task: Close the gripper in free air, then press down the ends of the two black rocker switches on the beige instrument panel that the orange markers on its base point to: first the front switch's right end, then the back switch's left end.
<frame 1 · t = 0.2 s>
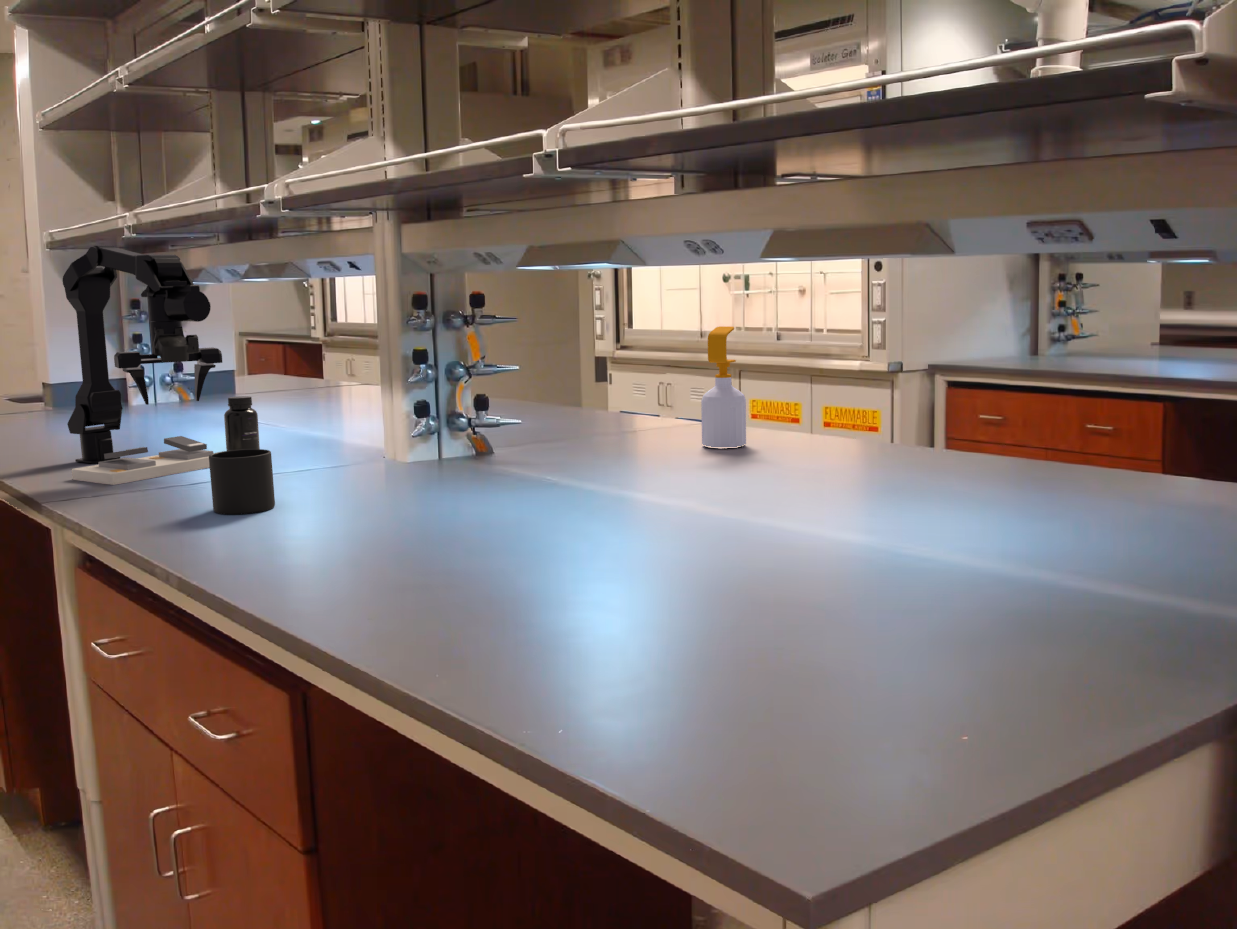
hand: (172, 402, 218), 13 cm above the counter, tool pointing down, fingers open, 9 cm apart
rocker A: (125, 452, 215), point 5 cm above the counter, hinge at -9.0°
soap bottle: (724, 447, 234), on the counter
mug: (244, 509, 182), on the counter
switch panel: (158, 471, 221), on the counter
rocker B: (185, 443, 225), point 5 cm above the counter, hinge at 9.0°
supplement bottle: (243, 453, 242), on the counter
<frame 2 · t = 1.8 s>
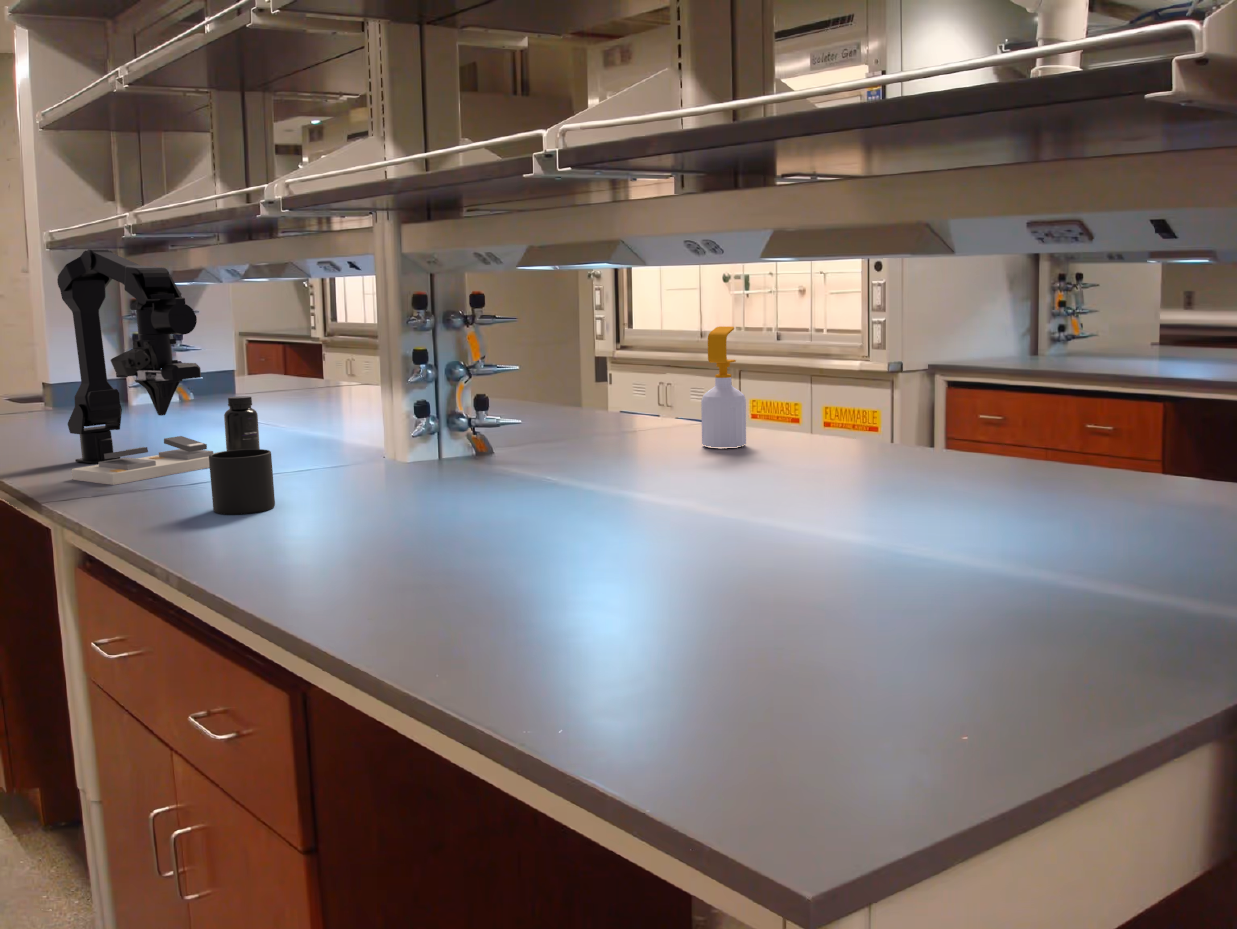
hand: (161, 415, 218), 11 cm above the counter, tool pointing down, fingers closed
nothing on the counter moved.
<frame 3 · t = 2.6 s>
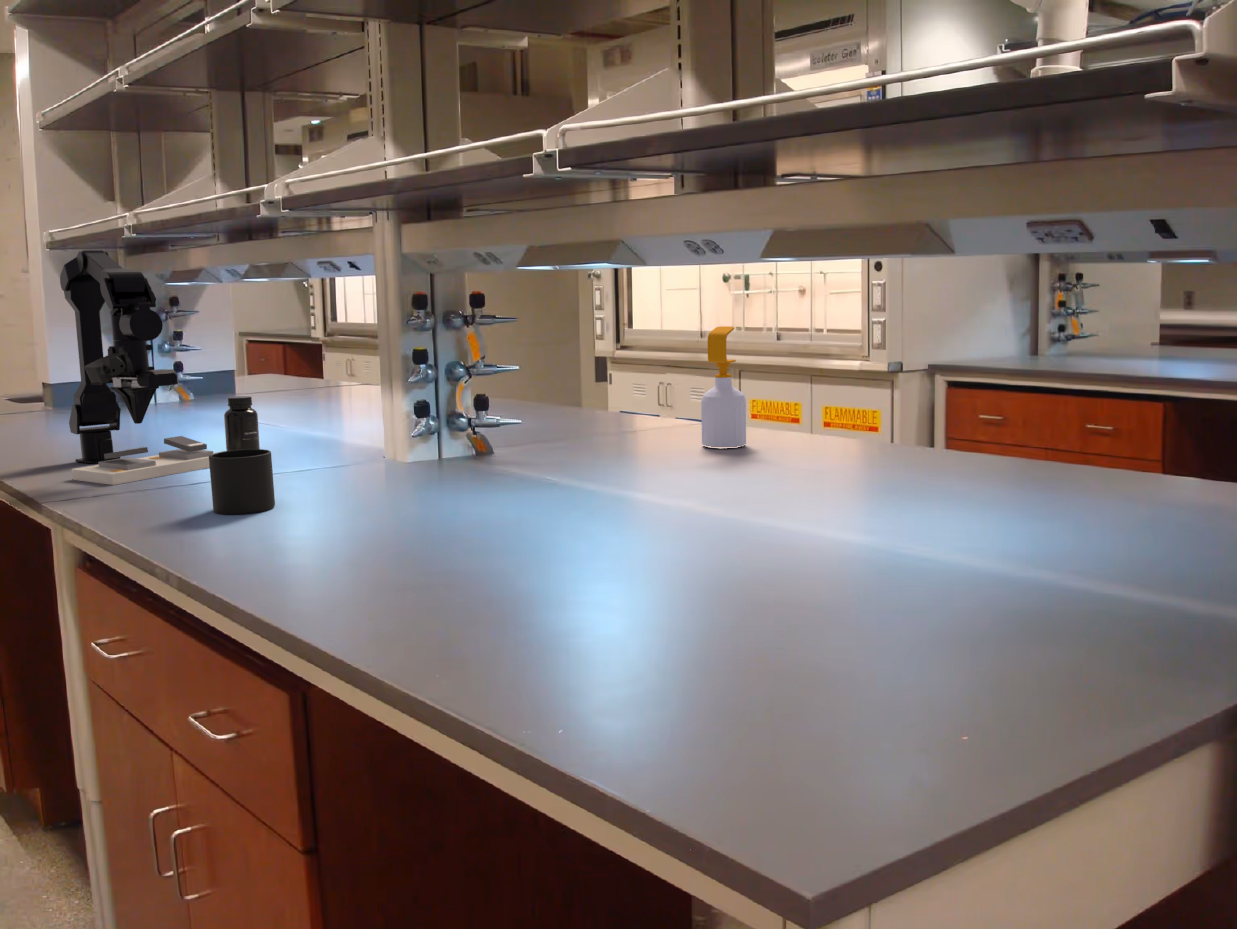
hand: (138, 423, 212), 10 cm above the counter, tool pointing down, fingers closed
nothing on the counter moved.
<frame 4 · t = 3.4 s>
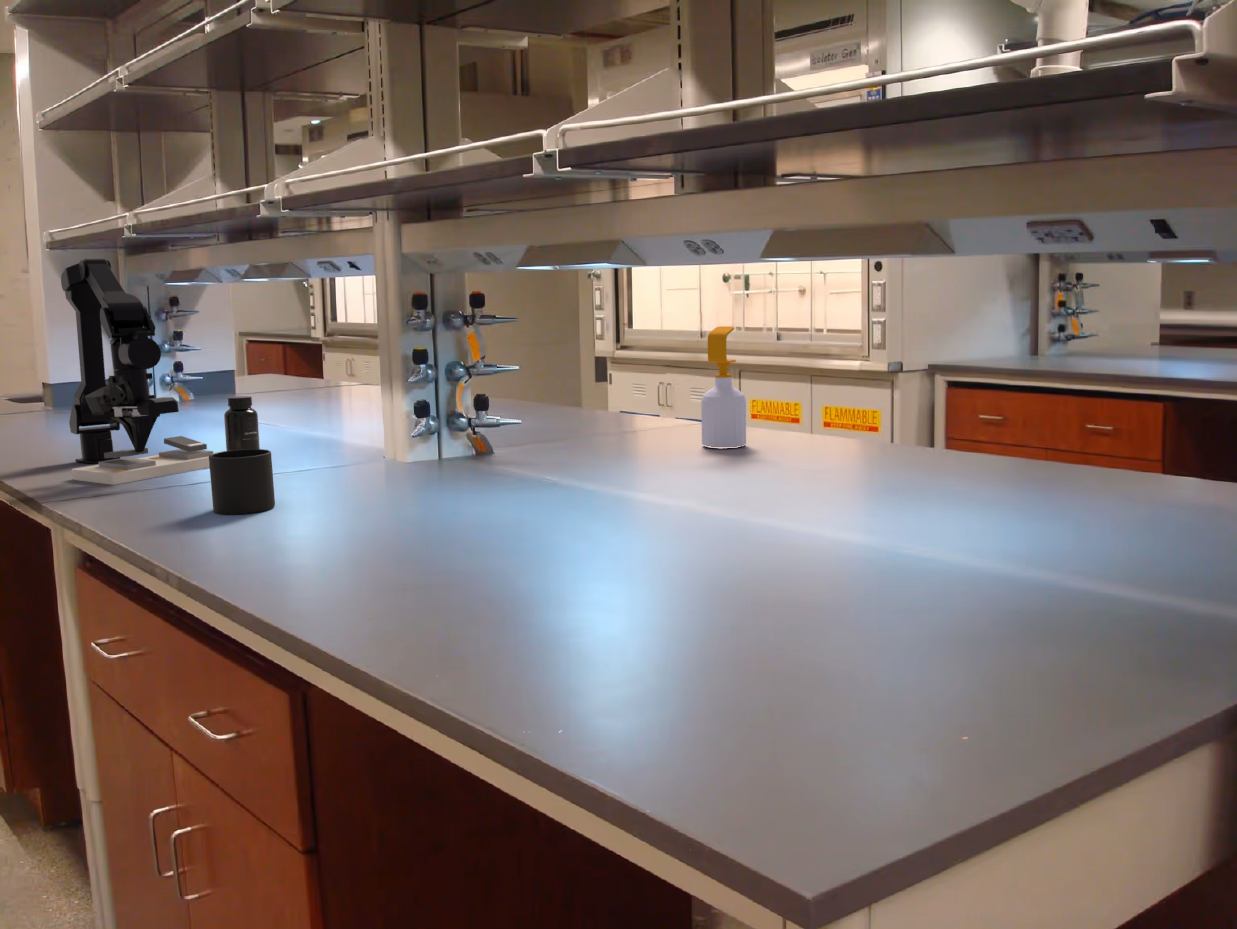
hand: (139, 452, 212), 5 cm above the counter, tool pointing down, fingers closed
rocker A: (125, 452, 215), point 5 cm above the counter, hinge at -6.6°, touching gripper
everything else where it was.
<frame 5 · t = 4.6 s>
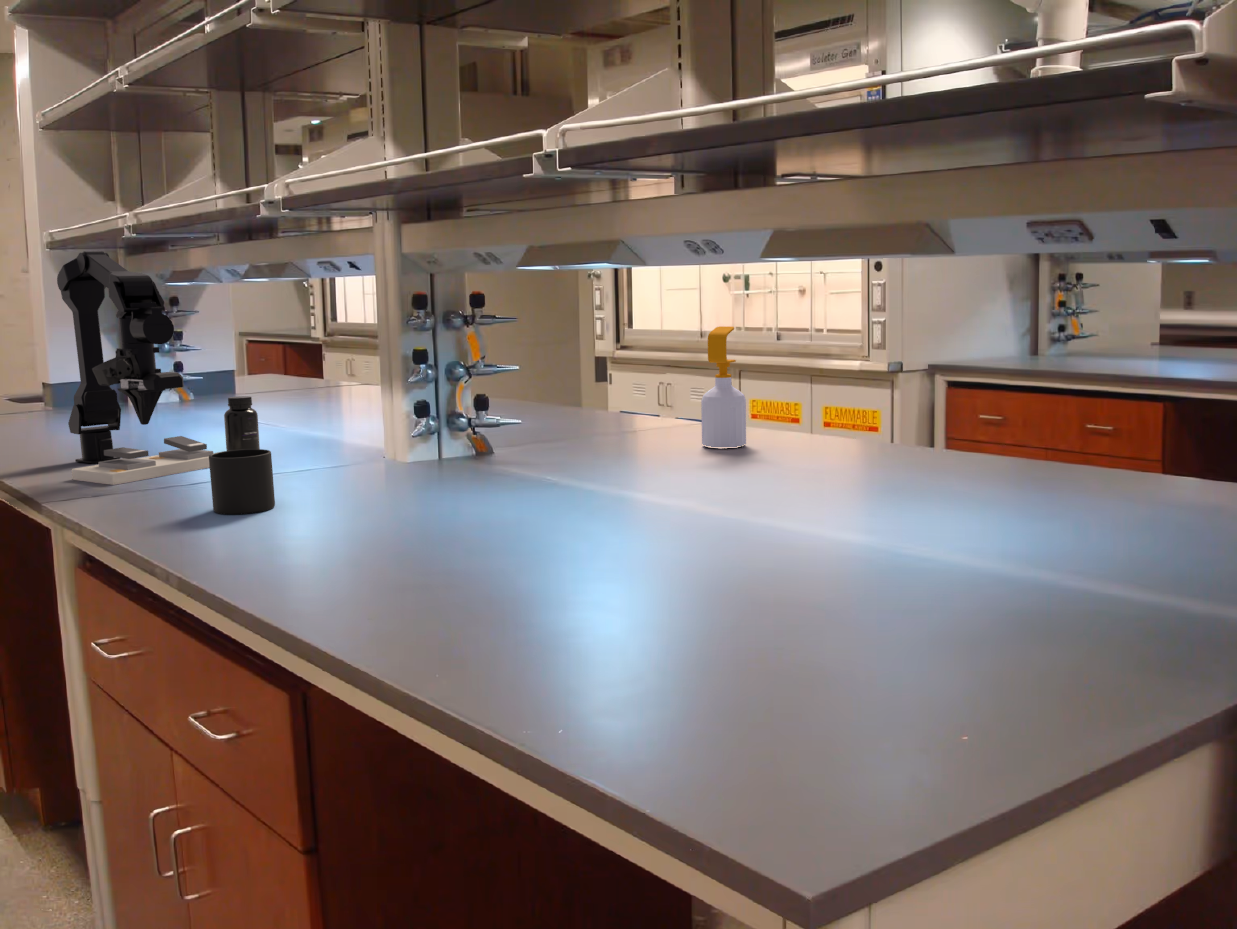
hand: (144, 424, 216), 10 cm above the counter, tool pointing down, fingers closed
rocker A: (126, 452, 215), point 5 cm above the counter, hinge at 1.3°
everything else where it was.
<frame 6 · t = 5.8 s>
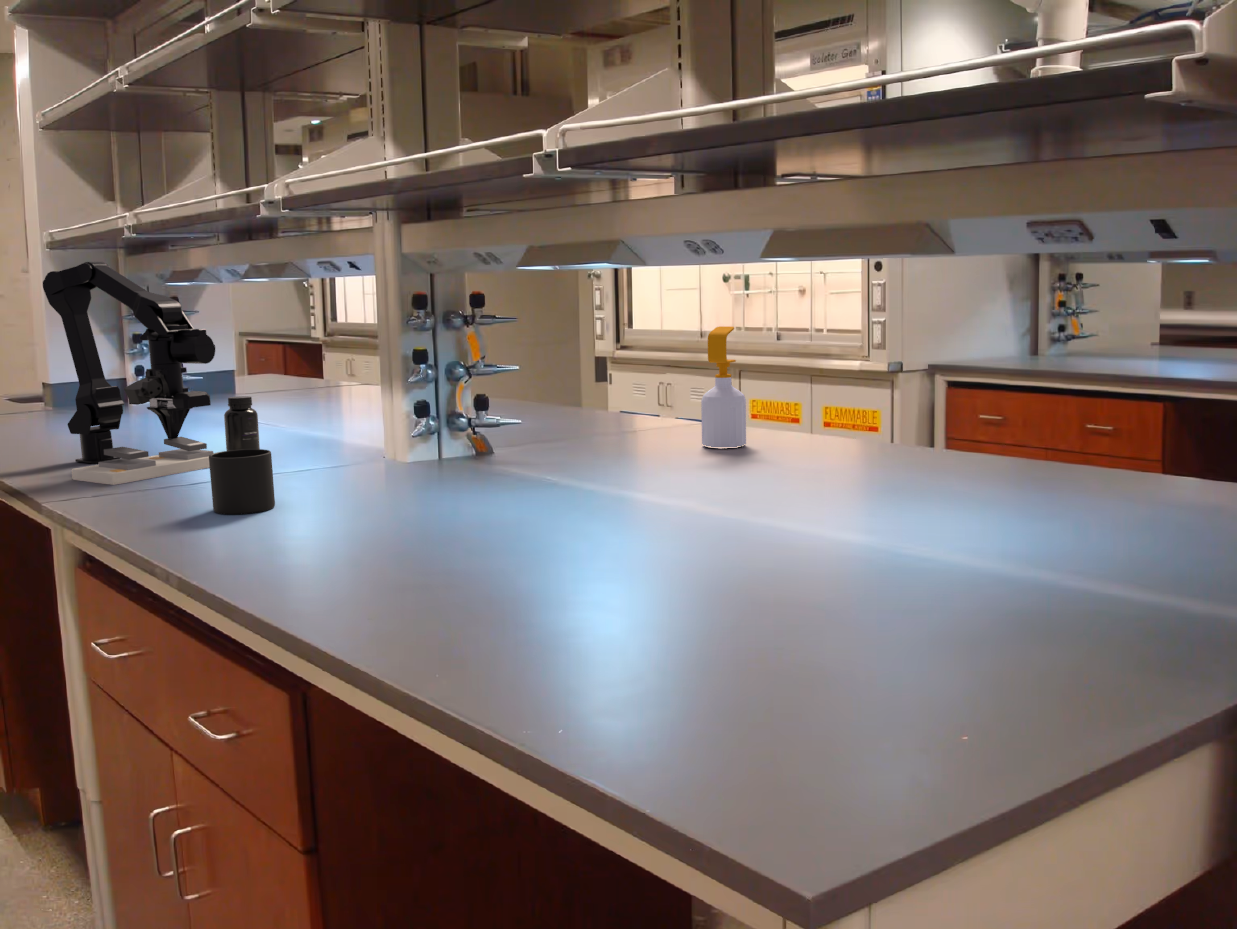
hand: (172, 440, 227), 5 cm above the counter, tool pointing down, fingers closed
rocker A: (126, 452, 215), point 5 cm above the counter, hinge at 3.2°
rocker B: (185, 443, 225), point 5 cm above the counter, hinge at 7.0°, touching gripper
everything else where it was.
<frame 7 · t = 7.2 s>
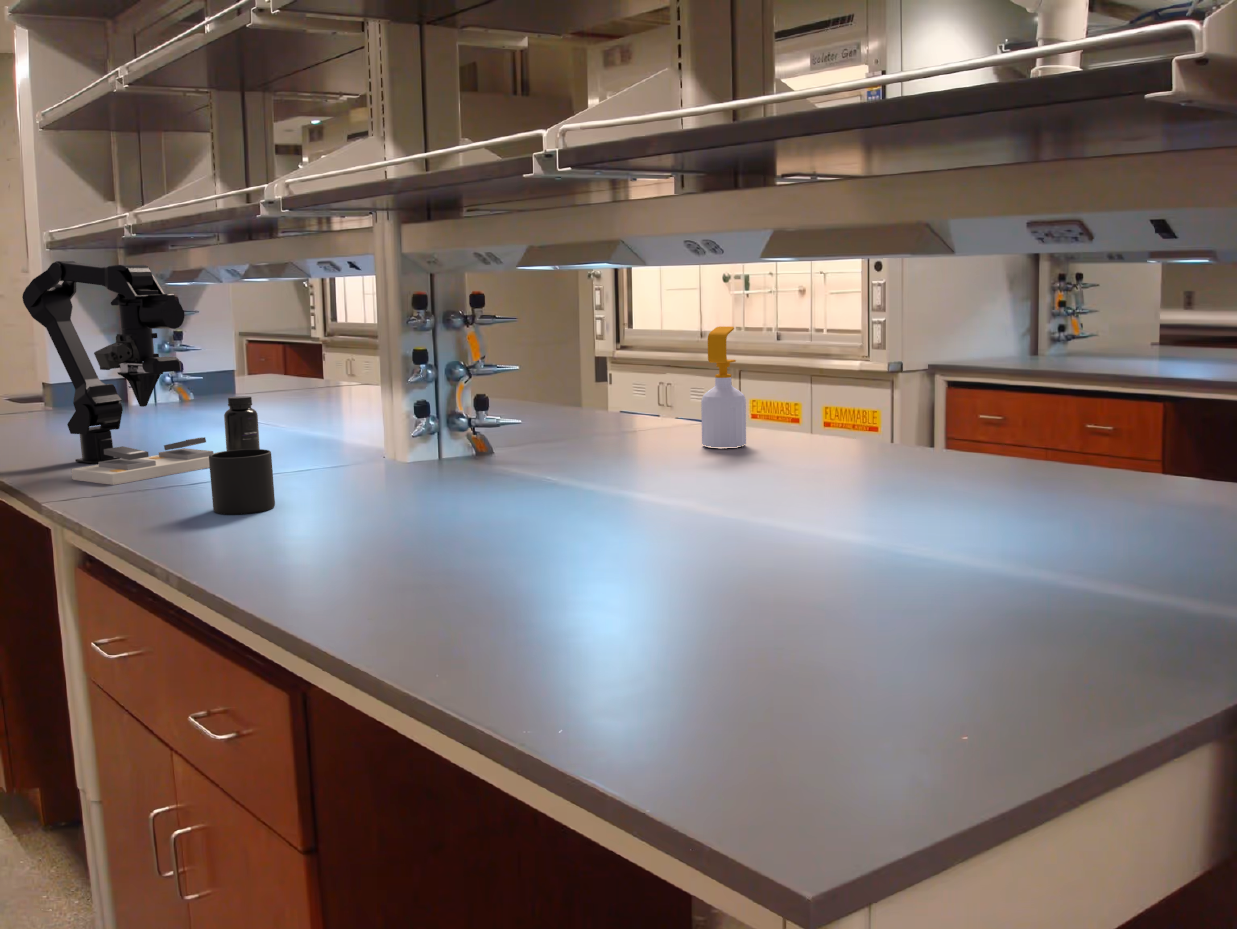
hand: (143, 406, 228), 12 cm above the counter, tool pointing down, fingers closed
rocker A: (126, 452, 215), point 5 cm above the counter, hinge at 4.0°
rocker B: (184, 443, 225), point 5 cm above the counter, hinge at -11.2°
everything else where it was.
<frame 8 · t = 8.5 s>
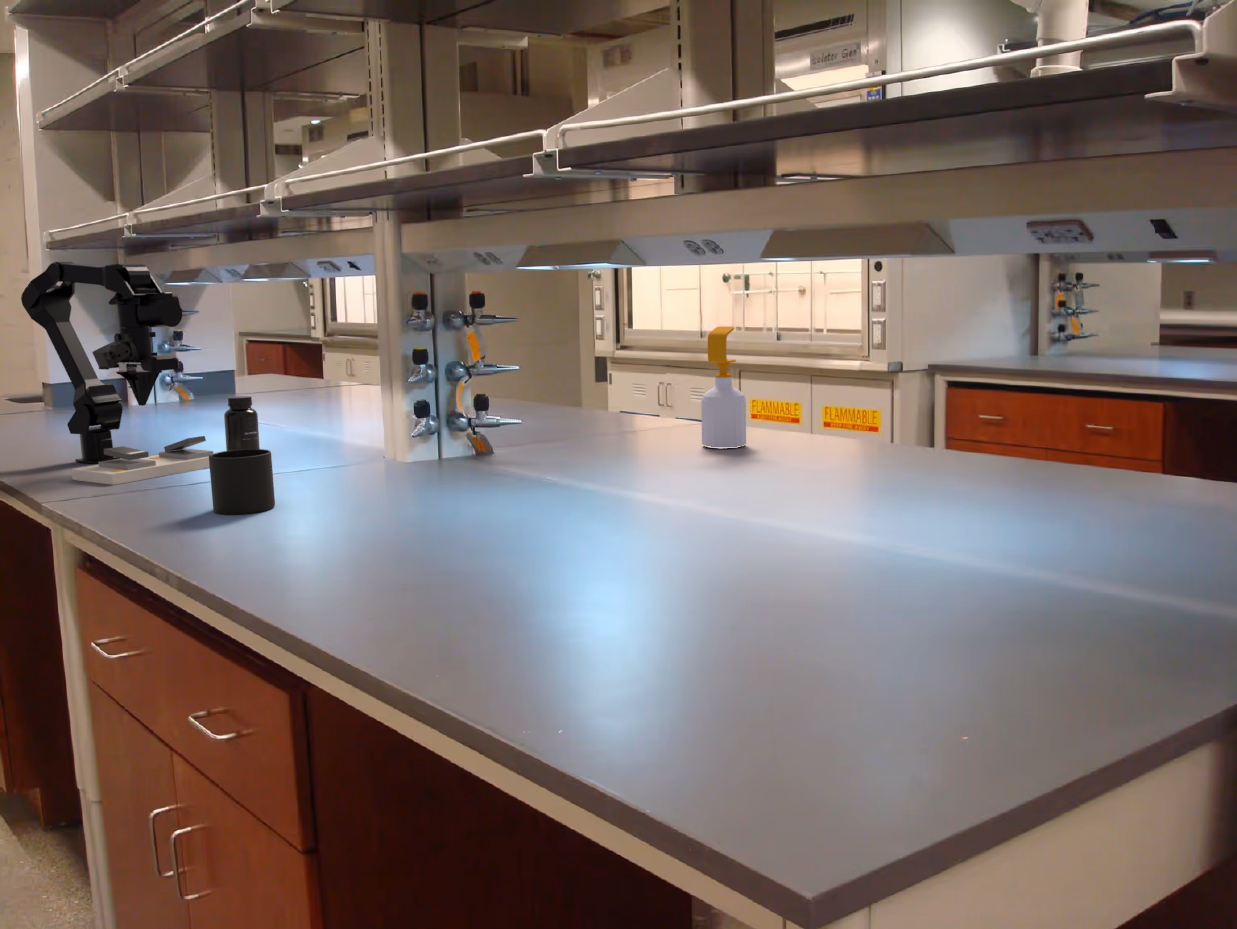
hand: (142, 405, 228), 12 cm above the counter, tool pointing down, fingers closed
rocker B: (184, 443, 225), point 5 cm above the counter, hinge at -15.4°
everything else where it was.
at the end: rocker A at +4° (first picture: -9°); rocker B at -16° (first picture: +9°) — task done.
